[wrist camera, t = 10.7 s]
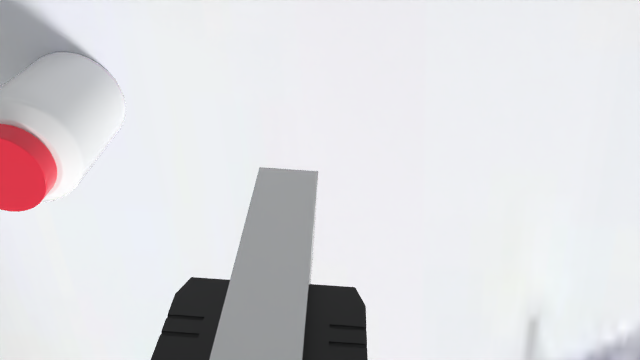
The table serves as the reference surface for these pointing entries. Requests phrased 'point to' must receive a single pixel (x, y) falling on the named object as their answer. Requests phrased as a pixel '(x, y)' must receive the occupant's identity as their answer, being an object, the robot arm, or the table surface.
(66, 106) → the pill bottle
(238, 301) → the robot arm
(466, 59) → the table surface
